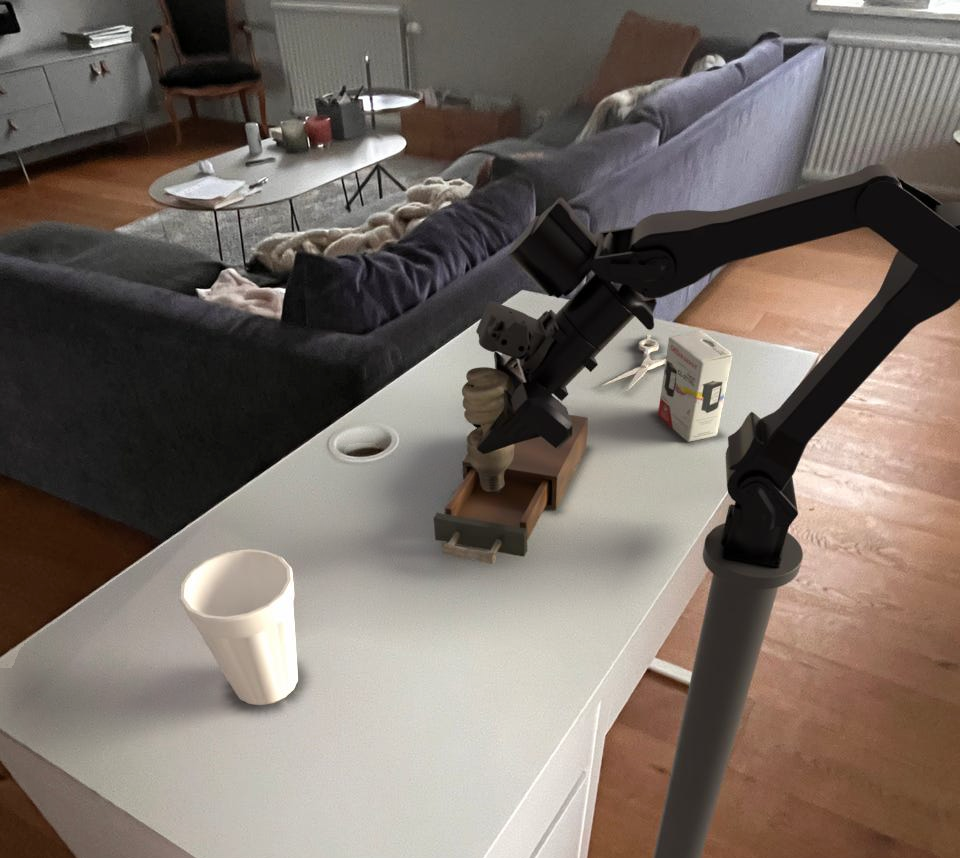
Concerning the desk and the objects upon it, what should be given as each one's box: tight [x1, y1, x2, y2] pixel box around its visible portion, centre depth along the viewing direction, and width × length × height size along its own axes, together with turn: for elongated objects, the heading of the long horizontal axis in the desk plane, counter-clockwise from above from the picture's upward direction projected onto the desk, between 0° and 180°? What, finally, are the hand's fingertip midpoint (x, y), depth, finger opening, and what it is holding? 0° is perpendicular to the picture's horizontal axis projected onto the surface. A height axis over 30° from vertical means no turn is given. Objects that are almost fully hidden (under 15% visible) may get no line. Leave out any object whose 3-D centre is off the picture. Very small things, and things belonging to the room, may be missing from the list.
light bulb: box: [461, 366, 514, 494], centre depth 89 cm, size 6×6×15 cm
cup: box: [178, 548, 299, 706], centre depth 77 cm, size 10×10×13 cm
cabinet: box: [461, 414, 589, 511], centre depth 107 cm, size 15×12×5 cm
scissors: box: [602, 333, 666, 391], centre depth 129 cm, size 11×1×20 cm
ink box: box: [657, 330, 733, 443], centre depth 112 cm, size 9×5×12 cm, turn 21°
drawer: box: [433, 467, 553, 565], centre depth 98 cm, size 18×11×3 cm, turn 160°
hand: (477, 438), depth 89 cm, fingers closed on light bulb, 5 cm apart
